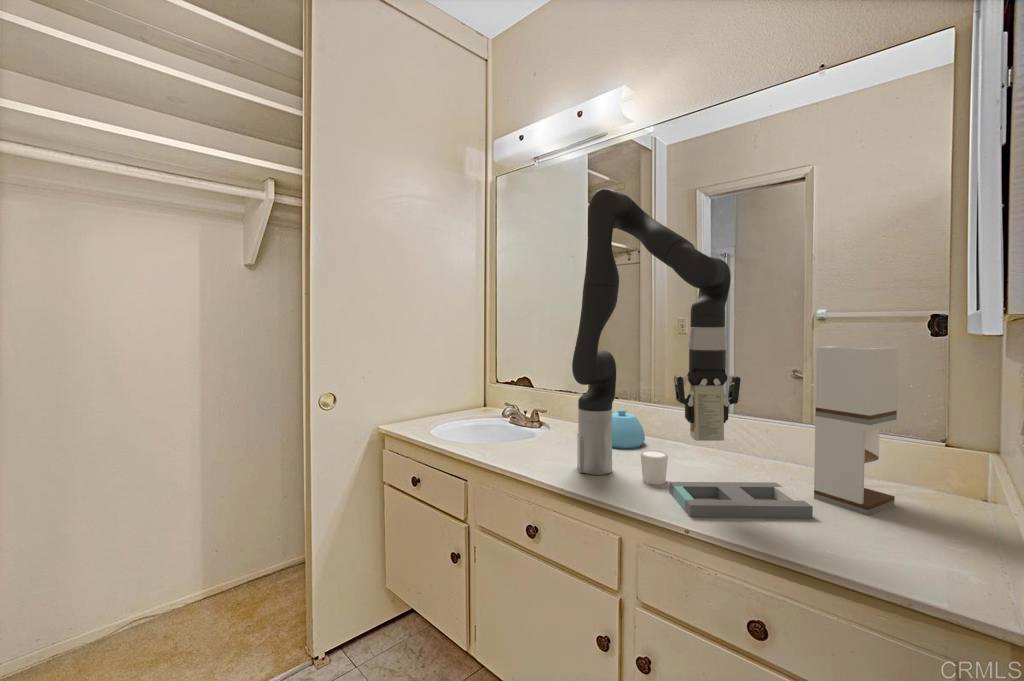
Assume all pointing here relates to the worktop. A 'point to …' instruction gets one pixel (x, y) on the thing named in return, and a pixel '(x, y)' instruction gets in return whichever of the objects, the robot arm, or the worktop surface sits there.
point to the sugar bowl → (626, 430)
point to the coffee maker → (852, 422)
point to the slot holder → (739, 500)
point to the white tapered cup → (654, 466)
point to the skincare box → (708, 413)
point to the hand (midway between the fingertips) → (706, 422)
